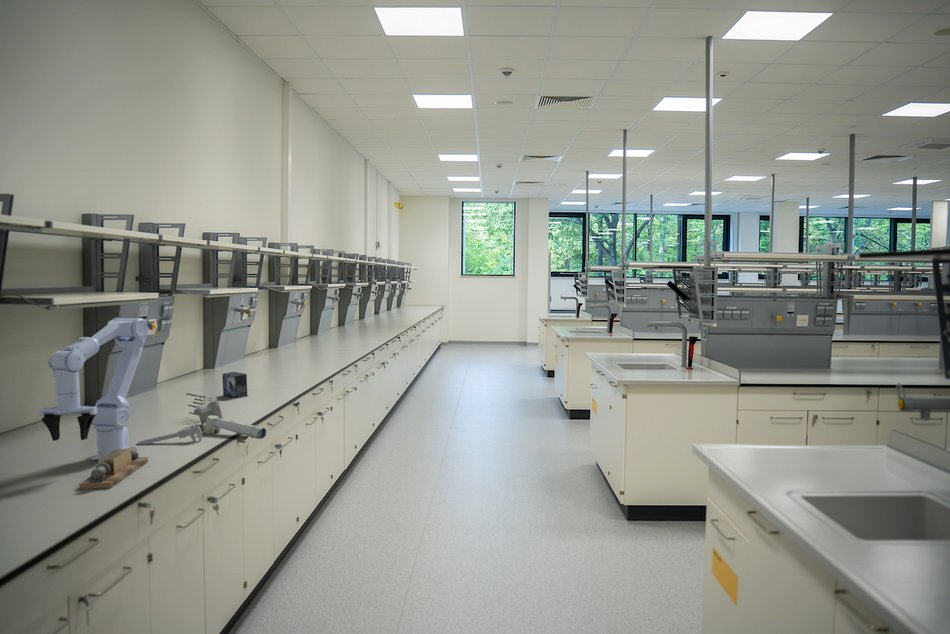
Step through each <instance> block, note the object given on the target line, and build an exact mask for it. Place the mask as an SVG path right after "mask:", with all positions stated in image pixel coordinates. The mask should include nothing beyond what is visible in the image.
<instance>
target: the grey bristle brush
mask: <svg viewBox="0 0 950 634" xmlns="http://www.w3.org/2000/svg"><path fill="white" fill-rule="evenodd" d="M186 395H187V396H193V397H197V398H194V400H195V401H193V402H192V403H193V404H196V405H198V406H196V405H192V404H188V405H187V406H188V407H192V408H194V409H193V412H190V411H189V412H188V413H189V414H191V415H195V416H198V418H199V421H200V423H201V426H202V427H203V424H204V423H206V419H207V417H208V416H212V415H213V416H217V417H218V418H219V419H224V417H223V413H222V411H221V407H220V404H219V401H218V398H217V396H211V397H210V399H208V403H206V402H205V401H206V395H198V394H192V393H189V392H188V393H187V392H186ZM198 397H199V398H201V399H199V398H198ZM202 398H203V399H204V400H203V399H202ZM197 401H199V402H197ZM202 402H203V403H202Z"/></svg>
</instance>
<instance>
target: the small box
mask: <svg viewBox="0 0 950 634" xmlns="http://www.w3.org/2000/svg"><path fill="white" fill-rule="evenodd" d="M247 376H248V374H247V373H244V372H237V371H231V372H224V373H222V395H223V396H224V397H230V398H233V399H240V398H245V397H248V379H247Z"/></svg>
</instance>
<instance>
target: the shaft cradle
mask: <svg viewBox="0 0 950 634" xmlns="http://www.w3.org/2000/svg"><path fill="white" fill-rule="evenodd" d="M130 448H131V459H132V464H130V465H129V466H127V467H126V468H124V469H123V470H121V471H120V472H118V473H117V474H115V475H108V474H109V473H110V470H111V469H110V466H109V465H108V464H107V463H100V464H99V463H98V464H97V466H95V469H93V470H91V473H90V476H89V477H88V478H86V479H84V480H82V481H81V482H79V485H78V487H79V490H91V489H92V490H93V488H97V489H112V488H113V487H115V486H116V485H118V484H119V483H120V481H121V480H122V481H124V480H125V479H126V478H128V477H129V476H130V475H132V474H133V473H135V472H136V471H138V470H139V469H140V468H142V467H143V466H144V465H146V464H147V463H148V462H149V457H148V456H144V457H142V456H141V457H140V456H139V452H138V449H137V448H136V447H135V446H131V447H130V446H129V448H125V449H130ZM127 476H128V477H127ZM124 478H125V479H124ZM122 481H121V482H122ZM117 483H118V484H117ZM114 485H115V486H114ZM111 487H112V488H111Z"/></svg>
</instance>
